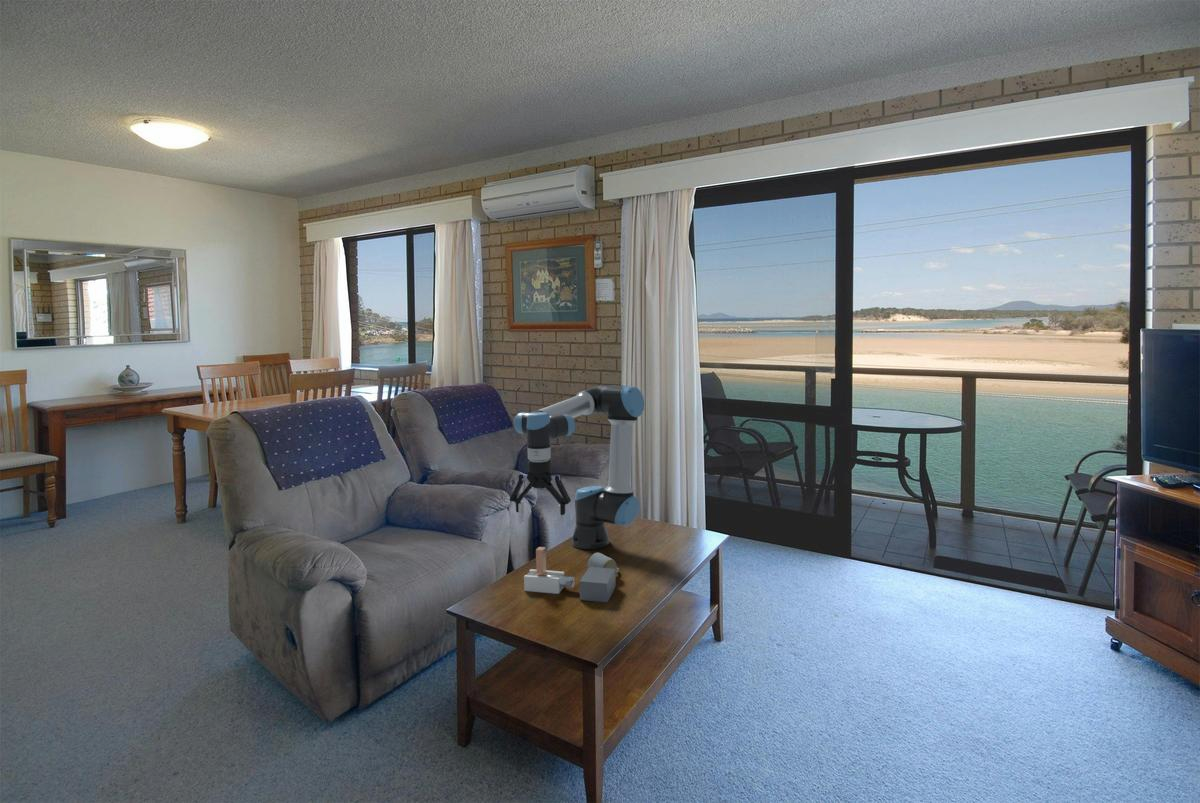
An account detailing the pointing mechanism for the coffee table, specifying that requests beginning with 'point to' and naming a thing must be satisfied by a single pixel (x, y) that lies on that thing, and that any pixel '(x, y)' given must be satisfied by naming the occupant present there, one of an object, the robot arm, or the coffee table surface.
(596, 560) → the ceramic mug
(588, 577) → the socket block
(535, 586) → the white channel cradle
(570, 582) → the silver peg with handle
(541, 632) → the coffee table surface
